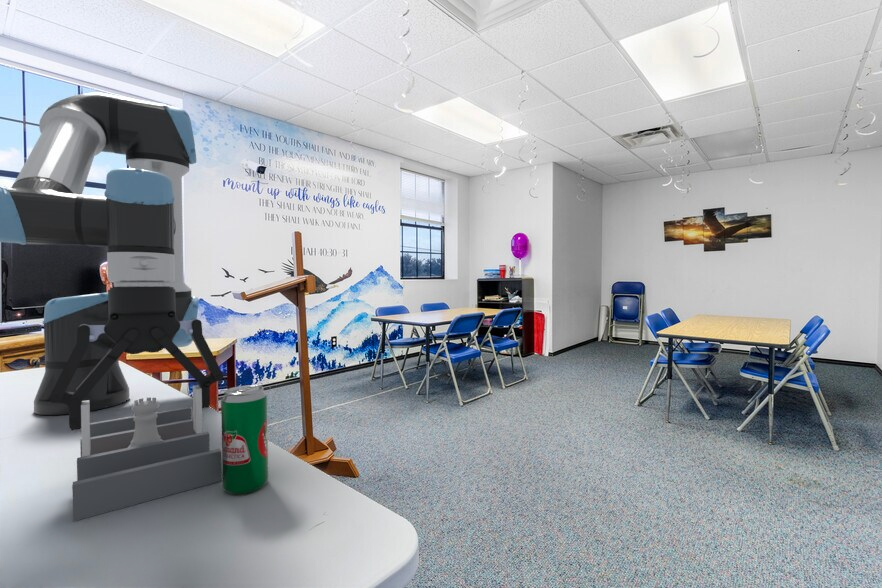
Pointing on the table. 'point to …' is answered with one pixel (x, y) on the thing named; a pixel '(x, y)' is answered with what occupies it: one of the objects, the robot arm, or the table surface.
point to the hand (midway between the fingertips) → (146, 441)
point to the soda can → (244, 439)
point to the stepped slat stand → (142, 464)
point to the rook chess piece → (145, 422)
